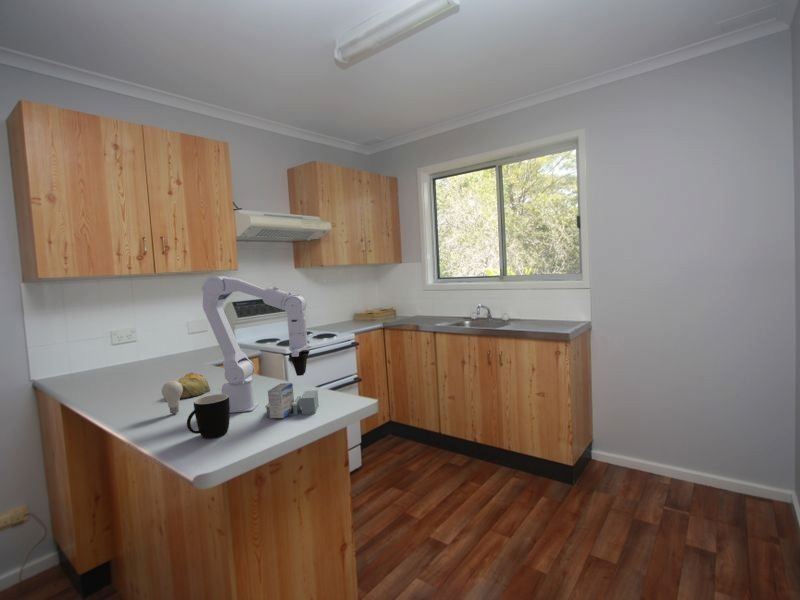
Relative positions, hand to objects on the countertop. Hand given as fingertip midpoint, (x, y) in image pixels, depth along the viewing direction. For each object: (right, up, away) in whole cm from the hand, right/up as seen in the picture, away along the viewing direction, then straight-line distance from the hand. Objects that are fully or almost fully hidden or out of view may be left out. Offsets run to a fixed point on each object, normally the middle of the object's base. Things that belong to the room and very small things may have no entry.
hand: (301, 374), depth 138 cm
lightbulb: (-41, -13, 0) cm, 43 cm away
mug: (-20, -14, -21) cm, 32 cm away
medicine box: (-4, -11, -8) cm, 14 cm away
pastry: (-48, -12, +24) cm, 55 cm away
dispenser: (-1, -11, -5) cm, 12 cm away
